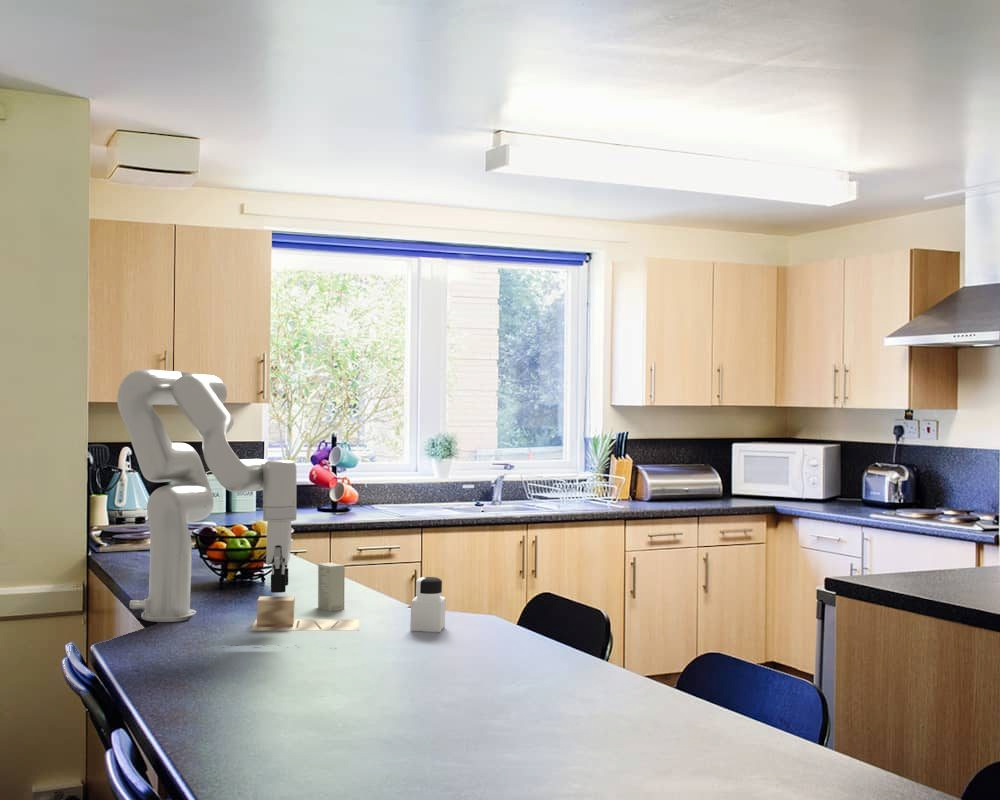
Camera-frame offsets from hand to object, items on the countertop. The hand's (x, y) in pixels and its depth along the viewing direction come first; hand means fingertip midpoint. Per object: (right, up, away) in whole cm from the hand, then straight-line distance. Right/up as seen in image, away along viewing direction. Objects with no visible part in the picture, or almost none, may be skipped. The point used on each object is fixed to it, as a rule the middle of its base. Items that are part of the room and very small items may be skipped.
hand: (279, 588), depth 241 cm
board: (+6, -10, +1) cm, 11 cm away
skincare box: (+8, -10, +22) cm, 25 cm away
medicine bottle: (+33, -11, +6) cm, 36 cm away
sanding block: (-1, -8, 0) cm, 8 cm away
